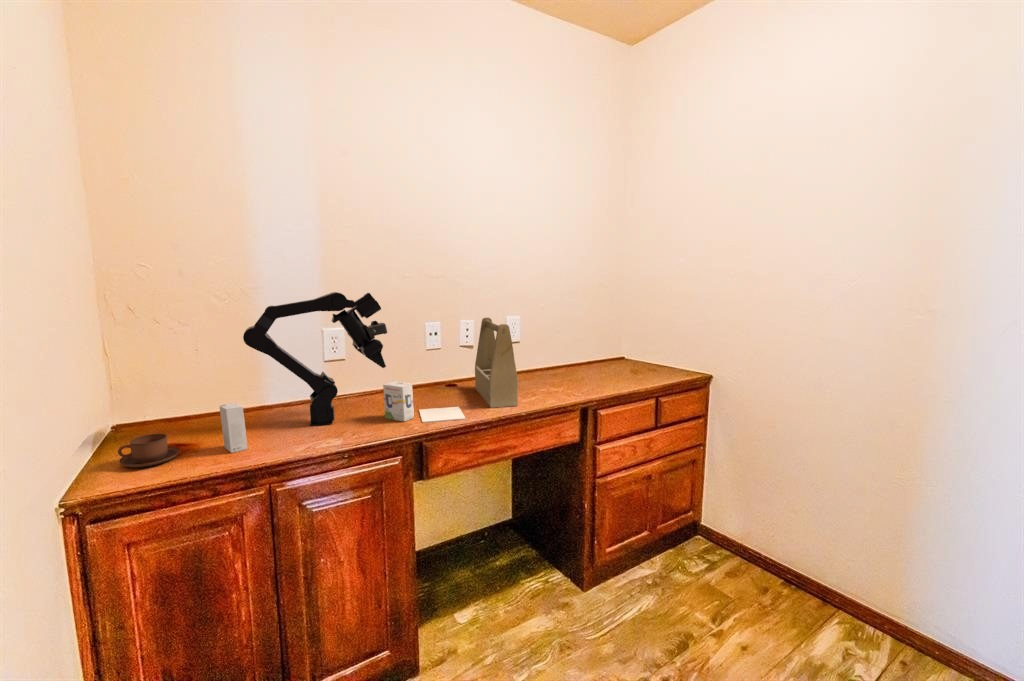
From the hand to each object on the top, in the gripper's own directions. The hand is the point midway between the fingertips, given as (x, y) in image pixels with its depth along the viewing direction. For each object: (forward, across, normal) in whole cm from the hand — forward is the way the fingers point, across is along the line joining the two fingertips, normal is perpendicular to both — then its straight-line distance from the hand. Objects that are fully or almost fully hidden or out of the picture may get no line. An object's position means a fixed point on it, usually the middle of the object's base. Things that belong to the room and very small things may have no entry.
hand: (381, 364), depth 155 cm
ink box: (+16, -8, +6) cm, 19 cm away
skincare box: (-8, -13, +46) cm, 48 cm away
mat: (+23, -11, -6) cm, 26 cm away
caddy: (+38, +1, -28) cm, 47 cm away
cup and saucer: (-17, -12, +62) cm, 65 cm away
